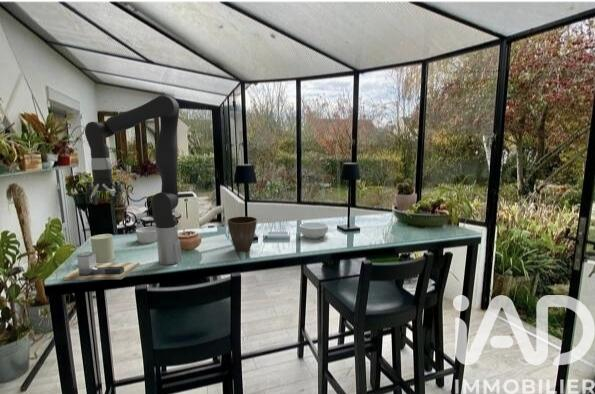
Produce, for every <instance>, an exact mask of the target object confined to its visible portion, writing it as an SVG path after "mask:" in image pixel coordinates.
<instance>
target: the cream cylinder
mask: <svg viewBox="0 0 595 394" xmlns="http://www.w3.org/2000/svg"><path fill="white" fill-rule="evenodd" d="M113 238H114V237H113V233H112V234H111V233H103V234H95V235H93V236H91V237H90V243H91V244H90V245H91V252H95V256H96V263H110V262H111V260H112V261H113V259H114V260H115V258H116V256H115V250H114V239H113Z"/></svg>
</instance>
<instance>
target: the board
mask: <svg viewBox="0 0 595 394" xmlns="http://www.w3.org/2000/svg"><path fill="white" fill-rule="evenodd" d="M96 265H97V267H124V272H123V273H122V274H93V275H89V276H79V270H78V269H79V268H78V267H77V268H76V269H74V270H73V271H71V272H69V273H68V274H66V275H63V276H62V280H63V279H64V280H63V281H81V280H82V281H84V280H85V281H89V280H90V281H93V280H95V281H97V280H106V281H107V280H123V279H124V278H125V277H126V276H128V275H129V274H130V273H133V271H134V270H136V269H137V268H138V267H139V266H141V263H140V262H104V263H96ZM65 279H66V280H65Z"/></svg>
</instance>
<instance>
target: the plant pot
mask: <svg viewBox="0 0 595 394" xmlns="http://www.w3.org/2000/svg"><path fill="white" fill-rule="evenodd" d="M226 221H227V226H228V230H229V231H228V232H229V234H230V238H231V239H230V240H231V241H232V244H233V246H234V249H235V251H236V252H243V253H244V252H247V251H250V250H251V248H252V244H253V242H254V237H255V234H256V228H257V222H258V221H257V218H256V217H253V216H236V217H235V216H234V217H230V218H228V219H227V220H226Z"/></svg>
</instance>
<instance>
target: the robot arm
mask: <svg viewBox="0 0 595 394" xmlns="http://www.w3.org/2000/svg"><path fill="white" fill-rule="evenodd" d="M179 116H180V105H179V103H178V101H177V100H176V99H175V98H174V97H171V96H168V95H165V94H164V95H161V94H160V95H158V96H156V97H155V98H153V99H151V100H150V101H148V102H146V103H143V104H142V105H139V106H138V107H135V108H132V109H130V110H126V111H123V112H120V113H117V114H115V115H112V116H110V117H108V118H107V120H104V121H100V122H98V121H89V122H88V123H86V125H85V127H84V135H85V137H86V138H85V139H86V141H87V144H88V146H89V149H90V158H91V159H90V161H91V162H90V165H91V166H90V167H91V174H92V180H93V181H91V180H90V181H86V182H85V188H86V195H87V196H91V201H92V204H93V205H94V206H96V205H98V204H99V200H98V199H99V198H98V194H99V192H108V193H110V195H111V196H112V197H111V198H112V199H111V200H112V204H113V205H117V204H118V202H119V199H118V197H119V196H120V195H121V194H122V187H121V181H120V180H117V181H114V180H113V170H112V169H113V168H112V163H111V158H110V156H111V155H110V148H109V146H108V145H107V144H105V141H104V140H105V139H107V138H110V137H112V136H114V135H115V134H117V133H120V132H124V131H126V130H129V129H131V128H134V127H136V126H138V125H140V124H141V123H143V122H145V121H148V120H151V119H156V118H159V119H160V121H159V122H160V123H159V124H160V127H159V128H160V129H159V133H158V137H157V140H156V145H155V149H154V151H155V152H154V153H155V159H154V160H155V165H156V168H157V171H158V173H159V176H160V178H161V191H160V192H157V193H156V194H155V193H154V195H153V196H152V199H151V211H152V218H153V219H152V220H153V222H154V224H155V227H156V233H157V242H156V243H157V244H156V245H157V259H158V264H160V265H162V266H163V265H164V266H166V265H167V266H168V265H175V264H176V265H177V264H178V263H179V262H180V261H181V260H182V251H181V249H182V248H181V240H180V239H179V229H178V220H177V218H176V217H174V216H173V210H175V209H176V208H177V206H178V204H179V201H180V199H179V191H178V190H179V188H178V158H179V157H178V154H179V153H178V122H179ZM93 186H94V188H93ZM113 186H114V187H113Z"/></svg>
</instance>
